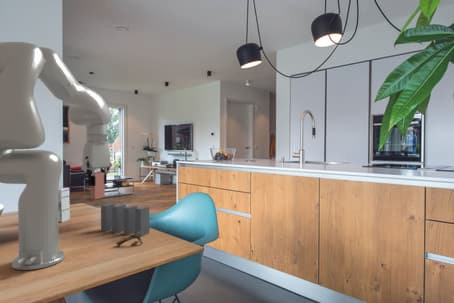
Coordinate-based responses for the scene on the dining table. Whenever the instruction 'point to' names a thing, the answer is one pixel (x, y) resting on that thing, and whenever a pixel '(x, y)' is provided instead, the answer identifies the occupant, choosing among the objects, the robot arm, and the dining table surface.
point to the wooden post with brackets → (129, 239)
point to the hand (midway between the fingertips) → (97, 184)
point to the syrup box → (63, 205)
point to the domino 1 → (98, 187)
